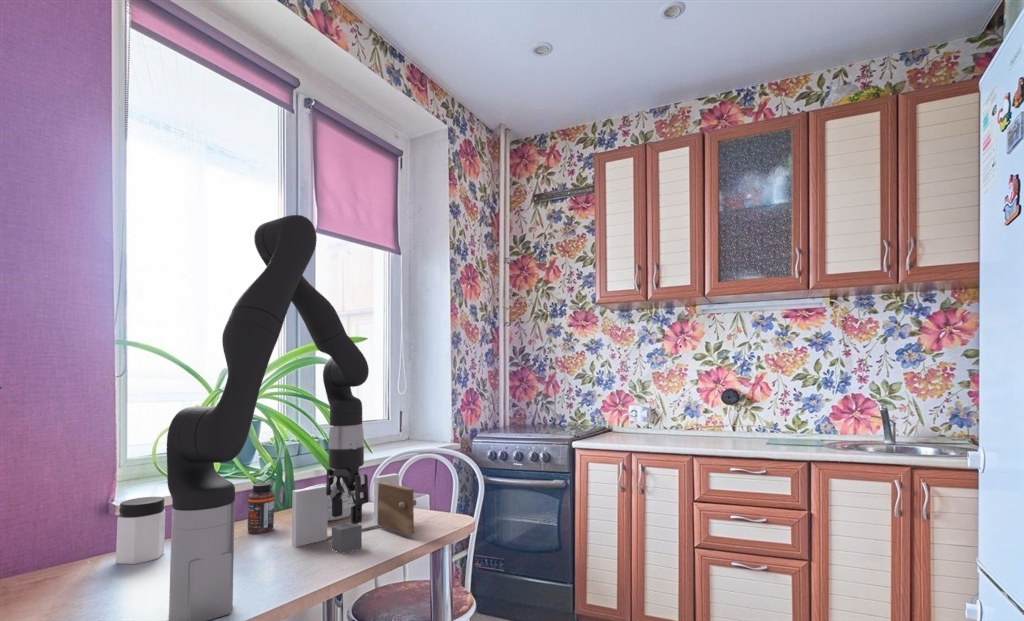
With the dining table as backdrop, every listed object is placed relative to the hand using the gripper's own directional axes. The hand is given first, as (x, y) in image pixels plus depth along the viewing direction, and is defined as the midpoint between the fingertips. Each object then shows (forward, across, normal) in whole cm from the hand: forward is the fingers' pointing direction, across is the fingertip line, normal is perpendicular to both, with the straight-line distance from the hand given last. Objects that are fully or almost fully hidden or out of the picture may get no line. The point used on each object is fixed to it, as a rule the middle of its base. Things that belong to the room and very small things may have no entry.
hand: (346, 519), depth 128 cm
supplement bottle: (+6, -30, -7) cm, 31 cm away
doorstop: (+6, 0, 0) cm, 6 cm away
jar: (+6, -28, -33) cm, 44 cm away
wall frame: (+6, -10, +7) cm, 14 cm away
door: (+5, -2, +14) cm, 15 cm away
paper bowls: (+7, -28, +11) cm, 31 cm away
